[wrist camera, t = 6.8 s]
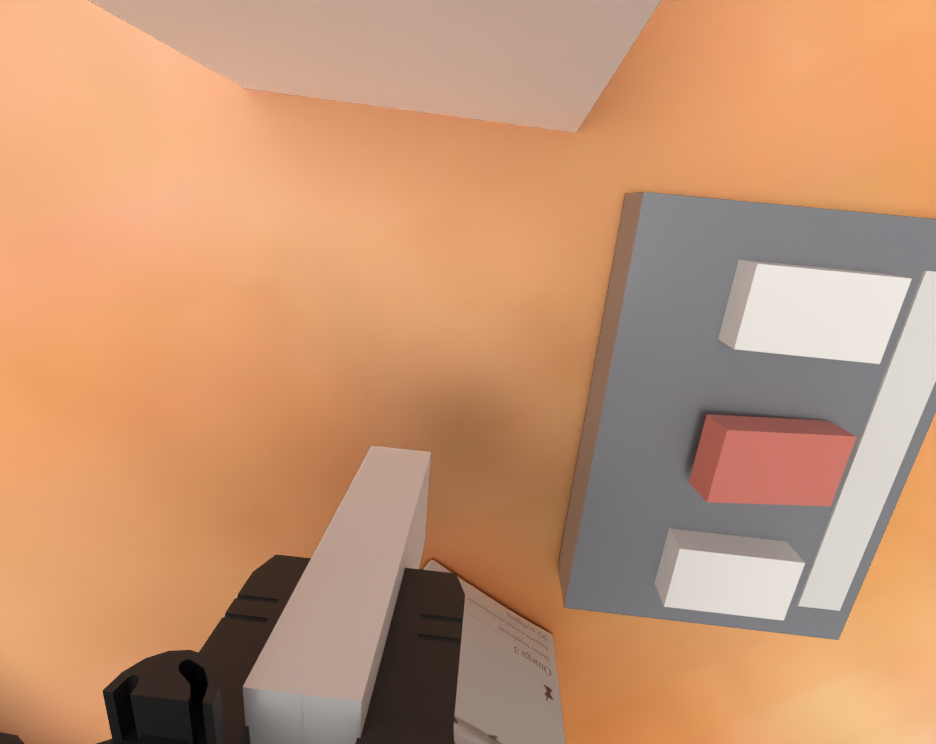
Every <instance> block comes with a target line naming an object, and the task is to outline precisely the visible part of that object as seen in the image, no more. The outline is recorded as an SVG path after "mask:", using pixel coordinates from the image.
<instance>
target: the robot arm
mask: <svg viewBox="0 0 936 744" xmlns="http://www.w3.org/2000/svg"><path fill="white" fill-rule="evenodd" d="M430 460H431V452H427V451H418V450H408V449H399V448H390V447H381V446H371V447H370V449H369V451H368V453H367V454H366V456H365V458H364V460H363V462H362V464H361V466H360V468H359V470H358V471H357V473H356V475H355V477H354V479H353V481H352V483H351V485H350V486H349V488H348V490H347V492H346V494H345V496H344V498H343V500H342V501H341V503H340V505H339V507H338V509H337V511H336V513H335V515H334V516H333V518H332V520H331V522H330V524H329V526H328V528H327V530H326V531H325V533H324V535H323V537H322V539H321V541H320V543H319V545H318V546H317V548H316V550H315V552H314V554H313V556H312V558H311V559H310V558H301V557H292V556H284V555H275V556H273V557H272V558H271V559H269V560H268V561H267V562H266V563H264V564H263V565H262V566H260V567H259V568H258V569H256V570H255V571H254V572H253V573H252V574H251V576H250V577H249V579H248V580H247V582H246V583H245V585H244V586H243V588H242V589H241V591H240V592H239V594H238V597H237V599H234V601H233V602H232V604H231V605H230V607H229V608H228V610H227V611H226V613H225V617H224V618H222V619H221V620H220V622H219V623H218V625H217V626H216V628H215V629H214V631H213V632H212V634H211V635H210V637H209V638H208V640H207V641H206V643H205V644H204V646H203V647H202V649H201V650H200V652H199V653H198V652H195V651H192V650H180V651H167V652H164V653H161V654H158V655H155V656H152V657H149V658H146V659H144V660H142V661H140V662H139V663H137V664H135V665H134V666H132V667H130V668H129V669H127V670H125V671H123V672H122V673H121V674H120V675H119V676H118V677H117V678H116V679H115V680H114V681H112V682H111V683H110V684H109V685H108V686H107V687H106V688H105V689H104V690H103V695H104V700H105V705H106V710H107V715H108V720H109V725H110V729H111V734H112V739H110V740H107V741H104V742H100V743H97V744H455V742H454V715H455V704H456V693H457V682H458V671H459V659H460V648H461V637H462V626H463V615H464V604H465V593H464V591H463V588H462V586H461V583H460V581H459V579H458V576H457V574H456V573H447V572H439V571H430V570H421V569H419V566H420V562H421V557H422V553H423V548H424V544H425V530H426V516H427V502H428V488H429V474H430ZM0 744H24V743H23V741H22V740H21V739H20V738H19V737H18V736H17V735H12V734H6V733H0Z"/></svg>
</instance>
